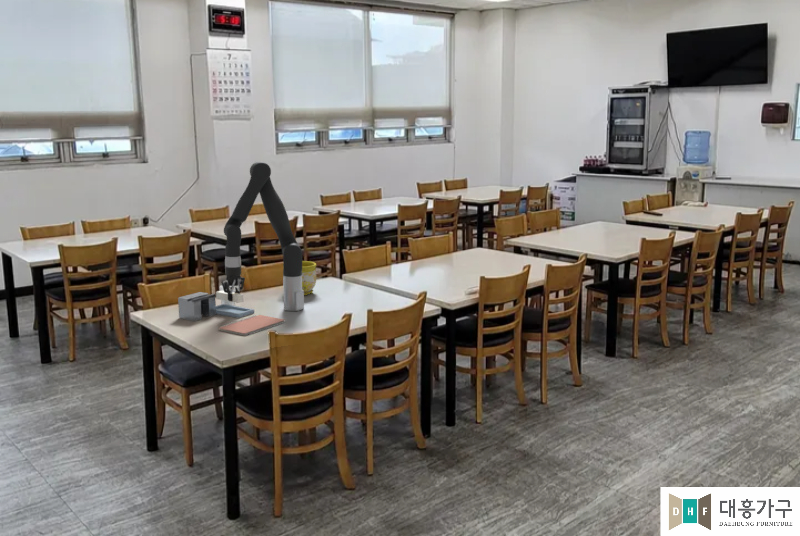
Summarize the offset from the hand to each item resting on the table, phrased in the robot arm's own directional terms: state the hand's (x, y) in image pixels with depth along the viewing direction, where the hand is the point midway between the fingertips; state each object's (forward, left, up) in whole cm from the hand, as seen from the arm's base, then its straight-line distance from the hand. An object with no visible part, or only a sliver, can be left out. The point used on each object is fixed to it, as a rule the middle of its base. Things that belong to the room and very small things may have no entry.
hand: (233, 299), depth 354 cm
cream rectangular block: (+3, 0, -1) cm, 3 cm away
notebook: (-22, +13, -7) cm, 27 cm away
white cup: (+13, -10, -7) cm, 18 cm away
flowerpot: (-1, -51, -7) cm, 52 cm away
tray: (+2, 0, -7) cm, 7 cm away
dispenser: (+10, +14, -7) cm, 19 cm away
